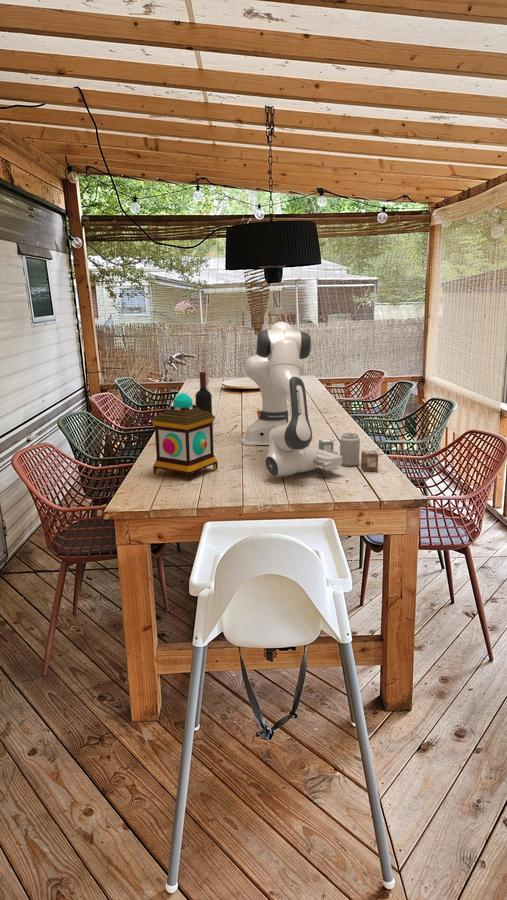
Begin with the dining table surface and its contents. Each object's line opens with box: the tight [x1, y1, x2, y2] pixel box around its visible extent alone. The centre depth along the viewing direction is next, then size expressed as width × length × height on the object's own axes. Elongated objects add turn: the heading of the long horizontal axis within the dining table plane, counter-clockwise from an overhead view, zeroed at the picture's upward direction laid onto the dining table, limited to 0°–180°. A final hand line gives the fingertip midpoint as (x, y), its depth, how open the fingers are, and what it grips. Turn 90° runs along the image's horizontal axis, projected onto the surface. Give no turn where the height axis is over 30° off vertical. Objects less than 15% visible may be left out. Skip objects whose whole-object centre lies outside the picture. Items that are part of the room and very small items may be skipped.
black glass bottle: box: [203, 365, 221, 425], centre depth 304 cm, size 13×13×30 cm
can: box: [339, 432, 361, 467], centre depth 224 cm, size 8×8×12 cm
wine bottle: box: [195, 371, 213, 414], centre depth 275 cm, size 8×8×30 cm
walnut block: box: [360, 450, 379, 474], centre depth 216 cm, size 5×5×7 cm
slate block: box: [318, 438, 334, 451], centre depth 234 cm, size 5×5×7 cm
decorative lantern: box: [151, 392, 219, 482], centre depth 215 cm, size 20×20×30 cm
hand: (334, 453), depth 220 cm, fingers closed
